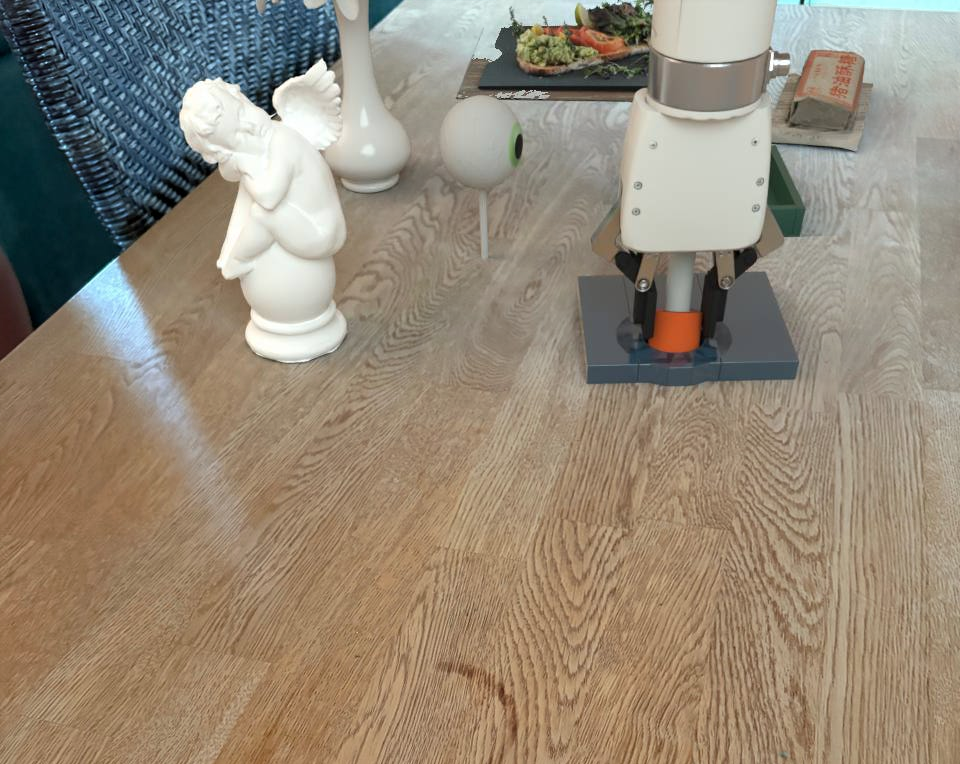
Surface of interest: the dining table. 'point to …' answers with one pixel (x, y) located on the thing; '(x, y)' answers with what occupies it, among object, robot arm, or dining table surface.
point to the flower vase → (361, 109)
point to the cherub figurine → (278, 206)
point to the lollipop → (481, 148)
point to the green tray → (784, 197)
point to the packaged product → (824, 102)
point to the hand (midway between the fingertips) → (676, 327)
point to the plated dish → (570, 57)
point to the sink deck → (727, 357)
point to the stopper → (678, 308)
